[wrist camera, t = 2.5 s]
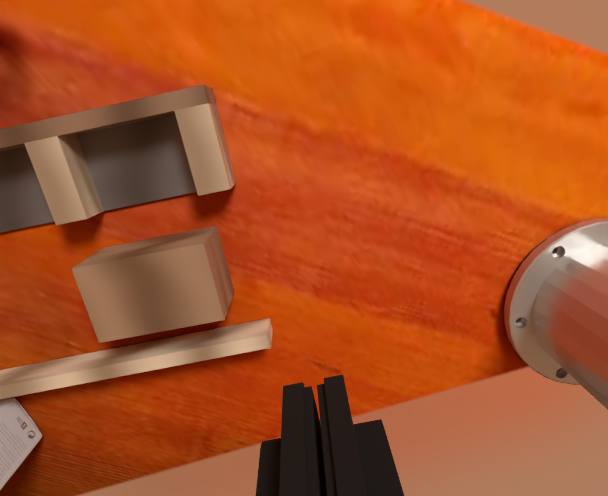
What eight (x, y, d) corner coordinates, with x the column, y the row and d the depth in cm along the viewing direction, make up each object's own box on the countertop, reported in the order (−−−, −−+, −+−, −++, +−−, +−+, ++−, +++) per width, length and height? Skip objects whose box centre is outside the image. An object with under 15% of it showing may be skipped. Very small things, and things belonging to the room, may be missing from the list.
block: (217, 225, 29) (203, 243, 24) (234, 291, 30) (224, 319, 26) (104, 246, 29) (71, 268, 25) (127, 311, 30) (99, 343, 26)
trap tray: (212, 88, 26) (203, 84, 23) (272, 330, 31) (270, 347, 28) (-136, 164, 27) (-178, 168, 24) (-24, 387, 32) (-50, 408, 29)
